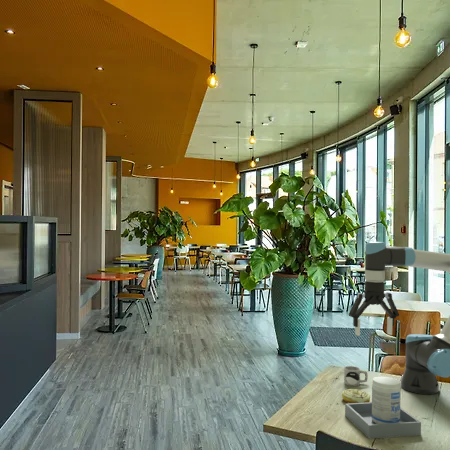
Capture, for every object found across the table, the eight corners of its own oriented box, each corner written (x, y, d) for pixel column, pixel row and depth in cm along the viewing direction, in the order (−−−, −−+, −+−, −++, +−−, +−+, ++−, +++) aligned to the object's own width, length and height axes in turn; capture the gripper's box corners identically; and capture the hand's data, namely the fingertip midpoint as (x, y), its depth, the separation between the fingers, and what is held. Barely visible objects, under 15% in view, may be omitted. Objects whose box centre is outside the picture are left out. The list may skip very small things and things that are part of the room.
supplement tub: (397, 430, 158) (398, 387, 158) (368, 423, 163) (369, 381, 163) (402, 420, 167) (403, 378, 167) (374, 414, 171) (375, 374, 171)
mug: (345, 385, 204) (345, 370, 204) (343, 380, 210) (343, 365, 210) (368, 387, 203) (369, 371, 203) (366, 381, 209) (366, 367, 209)
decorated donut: (364, 409, 179) (365, 399, 179) (337, 402, 185) (338, 392, 185) (373, 400, 187) (373, 391, 187) (347, 394, 194) (347, 385, 194)
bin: (391, 412, 175) (392, 401, 175) (420, 435, 157) (421, 422, 157) (345, 415, 172) (345, 403, 172) (369, 438, 154) (369, 425, 154)
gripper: (398, 279, 191) (397, 331, 191) (340, 279, 187) (339, 333, 187) (408, 281, 183) (407, 336, 184) (349, 282, 179) (348, 337, 179)
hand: (373, 334), depth 185 cm, fingers open, 13 cm apart
